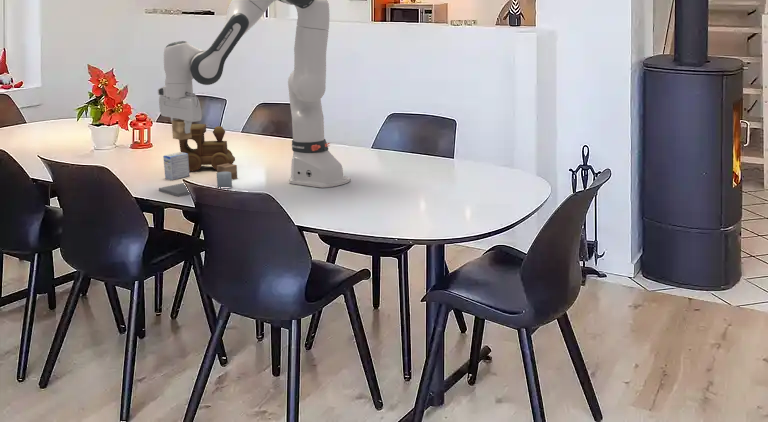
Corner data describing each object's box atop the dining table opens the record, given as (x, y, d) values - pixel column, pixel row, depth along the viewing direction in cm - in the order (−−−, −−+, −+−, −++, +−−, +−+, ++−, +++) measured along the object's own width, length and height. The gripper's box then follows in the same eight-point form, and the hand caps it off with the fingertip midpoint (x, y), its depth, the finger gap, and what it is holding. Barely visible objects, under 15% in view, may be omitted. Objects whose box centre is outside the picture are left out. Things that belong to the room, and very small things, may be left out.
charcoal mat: (206, 190, 297) (206, 187, 297) (178, 196, 289) (178, 193, 289) (186, 185, 305) (185, 182, 305) (158, 191, 297) (158, 188, 297)
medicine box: (182, 174, 321) (180, 151, 319) (190, 176, 319) (188, 153, 316) (164, 178, 315) (162, 155, 313) (172, 180, 313) (170, 156, 310)
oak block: (191, 138, 295) (190, 120, 293) (180, 140, 292) (179, 122, 290) (184, 136, 298) (183, 119, 296) (172, 138, 295) (171, 120, 293)
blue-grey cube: (235, 187, 301) (234, 172, 300) (223, 189, 298) (222, 175, 296) (226, 184, 304) (225, 170, 303) (214, 187, 301) (213, 173, 300)
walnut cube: (237, 178, 314) (236, 165, 312) (226, 181, 310) (225, 167, 309) (229, 176, 317) (228, 163, 316) (217, 179, 314) (216, 165, 312)
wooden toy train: (178, 172, 325) (174, 128, 321) (184, 166, 336) (180, 123, 332) (231, 171, 326) (229, 127, 321) (236, 165, 337) (233, 122, 332)
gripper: (205, 92, 286) (207, 134, 289) (170, 87, 299) (173, 127, 303) (188, 94, 281) (191, 137, 285) (154, 89, 295) (157, 129, 299)
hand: (181, 132), depth 294 cm, fingers closed on oak block, 4 cm apart
